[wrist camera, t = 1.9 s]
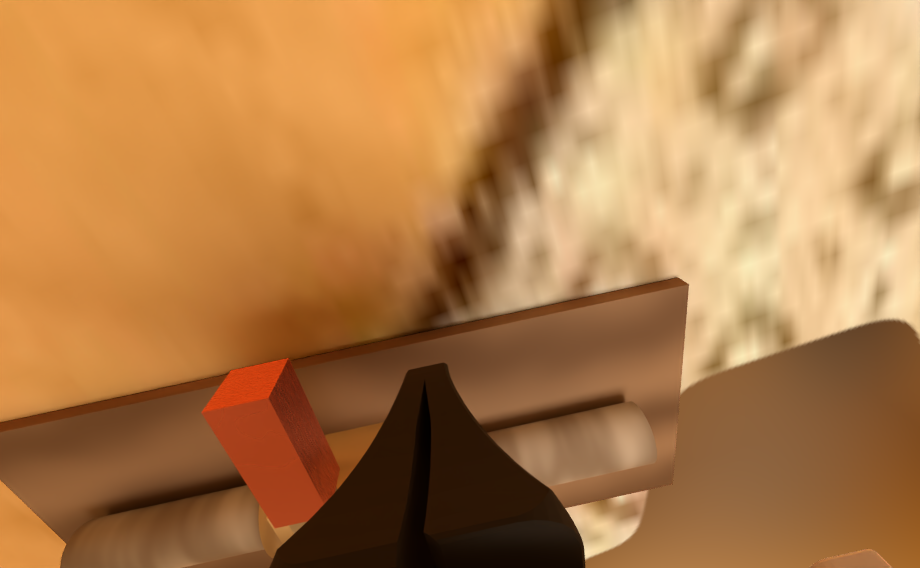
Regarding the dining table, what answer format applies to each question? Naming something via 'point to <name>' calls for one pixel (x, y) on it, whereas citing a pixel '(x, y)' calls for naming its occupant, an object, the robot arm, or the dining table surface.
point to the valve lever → (274, 441)
